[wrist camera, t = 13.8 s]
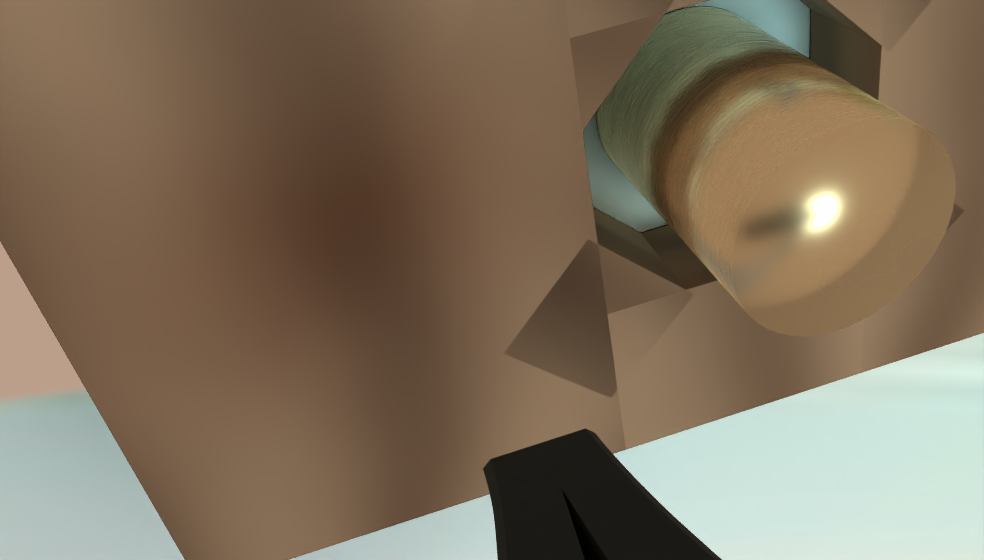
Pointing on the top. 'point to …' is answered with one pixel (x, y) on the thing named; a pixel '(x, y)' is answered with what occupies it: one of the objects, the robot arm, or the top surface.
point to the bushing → (777, 171)
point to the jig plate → (405, 244)
